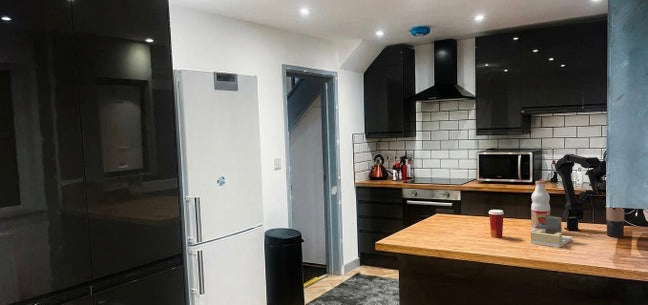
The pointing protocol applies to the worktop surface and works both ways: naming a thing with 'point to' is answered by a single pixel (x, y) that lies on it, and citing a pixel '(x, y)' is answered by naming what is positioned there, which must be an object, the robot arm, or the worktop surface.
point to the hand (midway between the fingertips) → (605, 210)
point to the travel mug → (615, 222)
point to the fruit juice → (539, 207)
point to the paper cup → (496, 223)
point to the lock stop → (553, 225)
